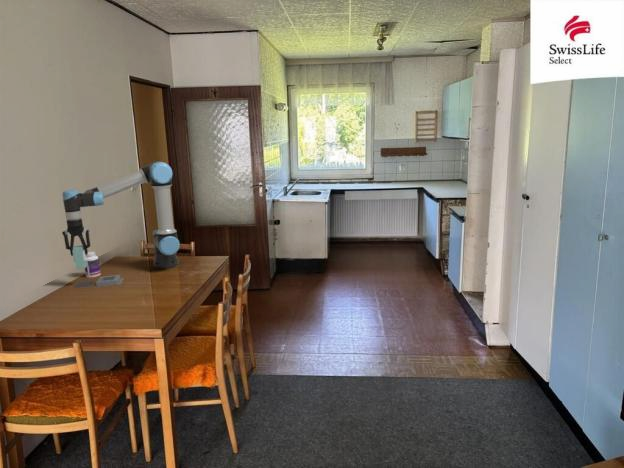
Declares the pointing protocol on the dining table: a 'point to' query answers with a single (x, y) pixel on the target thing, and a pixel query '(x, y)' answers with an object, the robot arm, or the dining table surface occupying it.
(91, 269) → the pill bottle
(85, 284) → the mat
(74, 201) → the robot arm
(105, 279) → the grey socket tray
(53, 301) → the dining table surface
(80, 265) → the plug
